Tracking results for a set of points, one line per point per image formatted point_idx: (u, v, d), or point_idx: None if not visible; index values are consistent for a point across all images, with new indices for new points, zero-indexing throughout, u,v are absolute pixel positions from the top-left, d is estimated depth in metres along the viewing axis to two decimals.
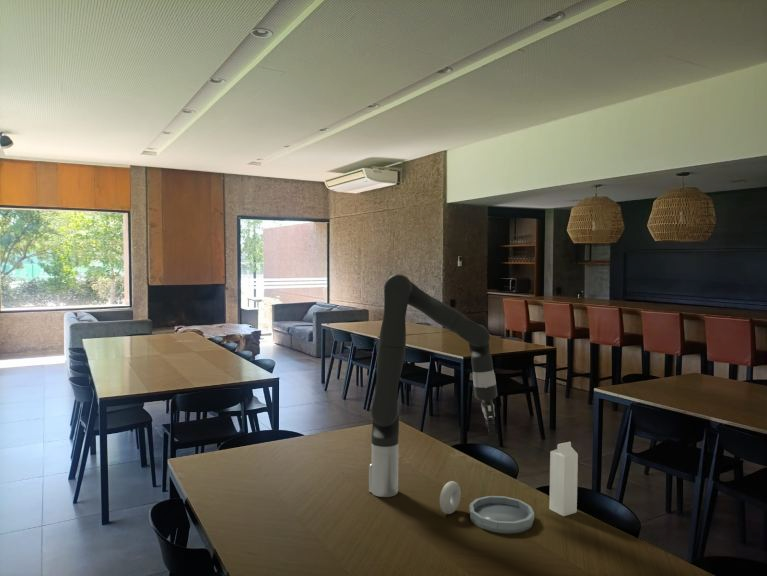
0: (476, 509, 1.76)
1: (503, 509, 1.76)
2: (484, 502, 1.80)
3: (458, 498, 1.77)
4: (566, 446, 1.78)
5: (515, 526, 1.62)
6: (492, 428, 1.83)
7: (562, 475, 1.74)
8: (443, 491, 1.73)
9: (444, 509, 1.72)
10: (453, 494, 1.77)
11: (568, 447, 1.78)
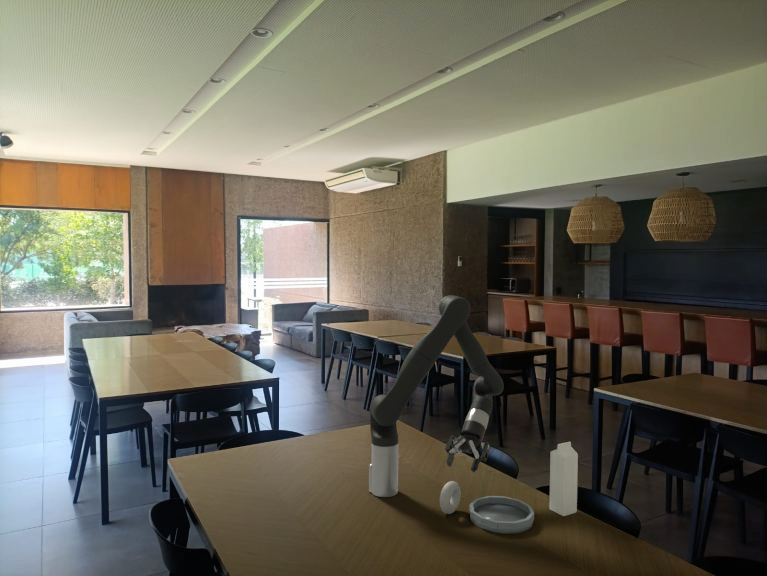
0: (476, 509, 1.76)
1: (503, 509, 1.76)
2: (484, 502, 1.80)
3: (458, 498, 1.77)
4: (566, 446, 1.78)
5: (515, 526, 1.62)
6: (478, 465, 1.80)
7: (562, 475, 1.74)
8: (443, 491, 1.73)
9: (444, 509, 1.72)
10: (453, 494, 1.77)
11: (568, 447, 1.78)
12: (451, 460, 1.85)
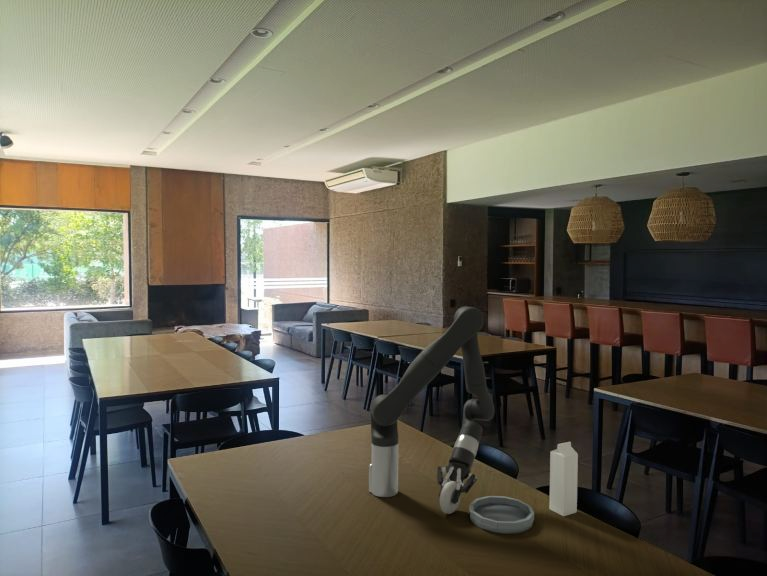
0: (476, 509, 1.76)
1: (503, 509, 1.76)
2: (484, 502, 1.80)
3: None
4: (566, 446, 1.78)
5: (515, 526, 1.62)
6: (459, 496, 1.74)
7: (561, 475, 1.74)
8: (443, 491, 1.73)
9: (444, 509, 1.72)
10: None
11: (568, 447, 1.78)
12: None
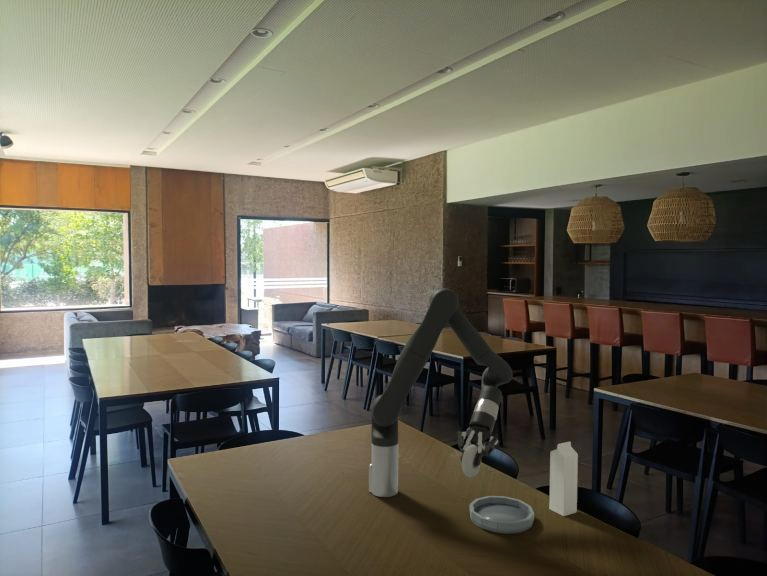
0: (476, 509, 1.76)
1: (503, 509, 1.76)
2: (484, 502, 1.80)
3: None
4: (566, 446, 1.78)
5: (515, 526, 1.62)
6: (480, 459, 1.72)
7: (561, 475, 1.74)
8: (465, 454, 1.71)
9: (467, 472, 1.70)
10: (474, 458, 1.75)
11: (568, 447, 1.78)
12: None
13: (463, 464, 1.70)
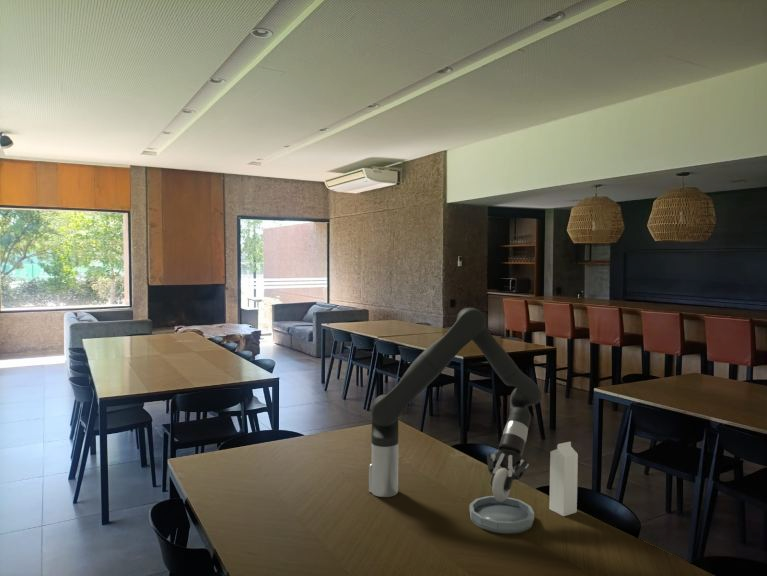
0: (476, 509, 1.76)
1: (503, 509, 1.76)
2: (484, 502, 1.80)
3: None
4: (566, 446, 1.78)
5: (515, 526, 1.62)
6: (511, 483, 1.70)
7: (561, 475, 1.74)
8: (496, 478, 1.69)
9: (498, 497, 1.68)
10: (504, 481, 1.73)
11: (568, 447, 1.78)
12: None
13: (494, 488, 1.68)
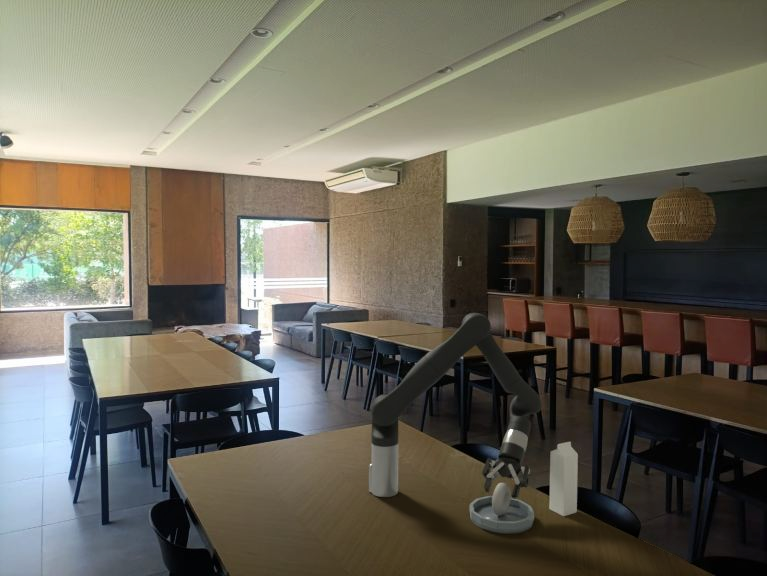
0: (476, 509, 1.76)
1: None
2: (484, 502, 1.80)
3: (509, 499, 1.73)
4: (566, 446, 1.78)
5: (515, 526, 1.62)
6: (518, 491, 1.69)
7: (561, 475, 1.74)
8: (496, 493, 1.69)
9: (497, 511, 1.68)
10: (504, 495, 1.73)
11: (568, 447, 1.78)
12: (489, 485, 1.74)
13: (494, 502, 1.68)
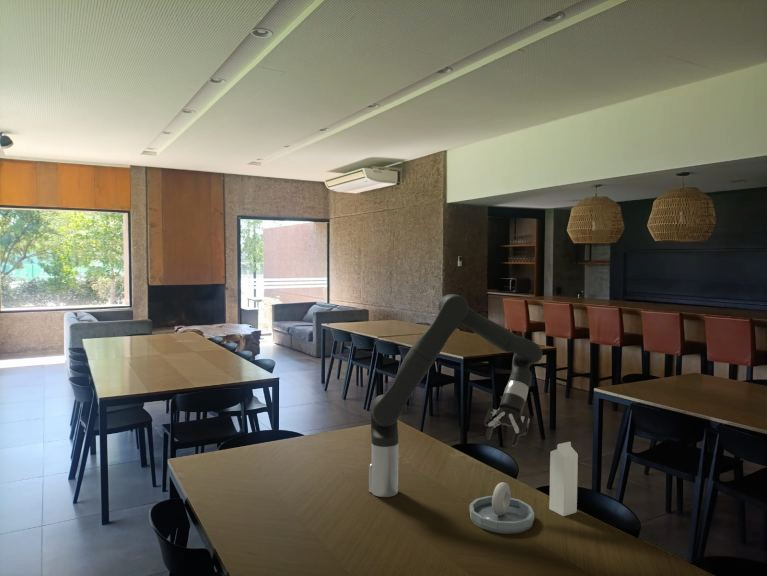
0: (476, 509, 1.76)
1: None
2: (484, 502, 1.80)
3: (508, 499, 1.73)
4: (566, 446, 1.78)
5: (515, 526, 1.62)
6: (518, 439, 1.79)
7: (561, 475, 1.74)
8: (496, 493, 1.69)
9: (497, 511, 1.68)
10: (503, 495, 1.73)
11: (568, 447, 1.78)
12: (490, 433, 1.84)
13: (493, 503, 1.68)
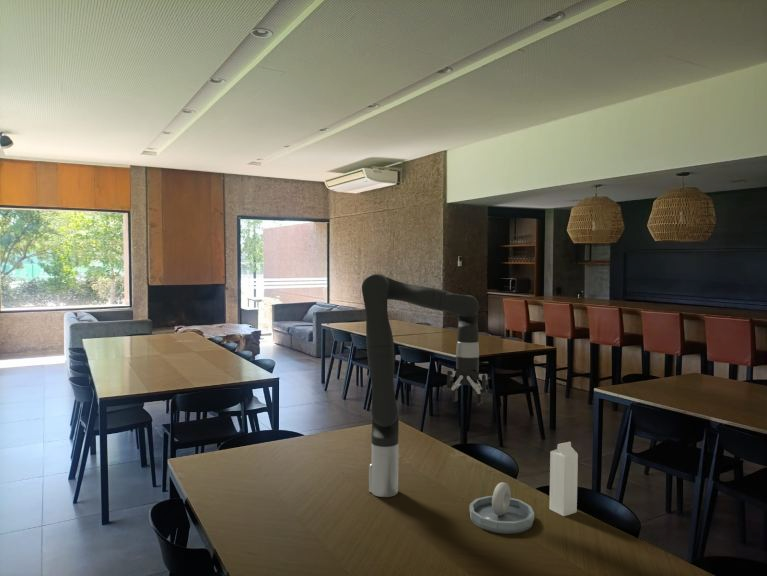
0: (476, 509, 1.76)
1: None
2: (484, 502, 1.80)
3: (508, 499, 1.73)
4: (566, 446, 1.78)
5: (515, 526, 1.62)
6: (482, 397, 1.84)
7: (561, 475, 1.74)
8: (496, 493, 1.69)
9: (497, 511, 1.68)
10: (503, 495, 1.73)
11: (568, 447, 1.78)
12: (456, 395, 1.89)
13: (493, 503, 1.68)
